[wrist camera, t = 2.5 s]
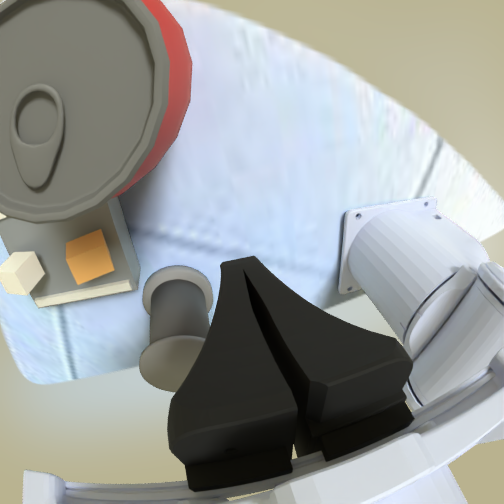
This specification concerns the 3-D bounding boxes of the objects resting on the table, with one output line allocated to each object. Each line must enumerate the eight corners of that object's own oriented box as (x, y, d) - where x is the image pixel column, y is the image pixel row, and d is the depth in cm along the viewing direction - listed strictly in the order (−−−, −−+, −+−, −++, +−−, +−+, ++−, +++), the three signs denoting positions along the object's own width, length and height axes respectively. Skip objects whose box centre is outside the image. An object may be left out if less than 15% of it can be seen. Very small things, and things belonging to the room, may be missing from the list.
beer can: (68, 136, 15) (-55, 236, 5) (85, 29, 11) (-43, -16, 2) (174, 144, 17) (171, 257, 7) (197, 36, 13) (235, -41, 4)
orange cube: (100, 228, 15) (104, 244, 14) (109, 252, 16) (114, 270, 15) (66, 242, 14) (65, 259, 13) (76, 266, 15) (77, 285, 14)
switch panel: (107, 157, 16) (96, 171, 14) (140, 267, 20) (137, 292, 18) (6, 191, 15) (-14, 209, 13) (47, 286, 19) (37, 311, 17)
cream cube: (34, 251, 14) (14, 272, 12) (44, 273, 15) (27, 295, 13) (13, 252, 14) (-5, 271, 13) (23, 272, 15) (7, 293, 14)
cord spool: (205, 258, 21) (219, 332, 15) (216, 311, 24) (232, 384, 18) (134, 273, 20) (125, 349, 15) (154, 323, 23) (156, 397, 18)
